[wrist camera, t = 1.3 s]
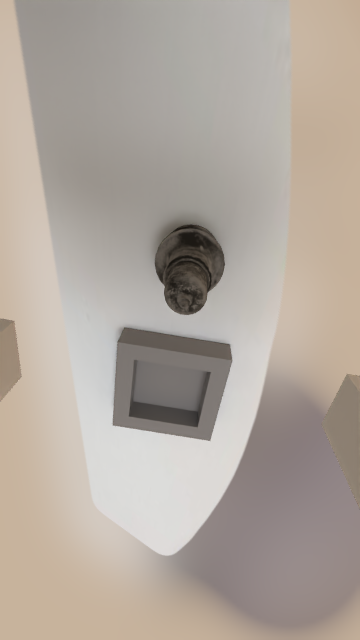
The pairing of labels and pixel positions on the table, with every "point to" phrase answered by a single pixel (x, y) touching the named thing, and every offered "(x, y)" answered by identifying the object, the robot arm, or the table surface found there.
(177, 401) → the grey square tray
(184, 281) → the dark grey tall piece
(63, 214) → the table surface
